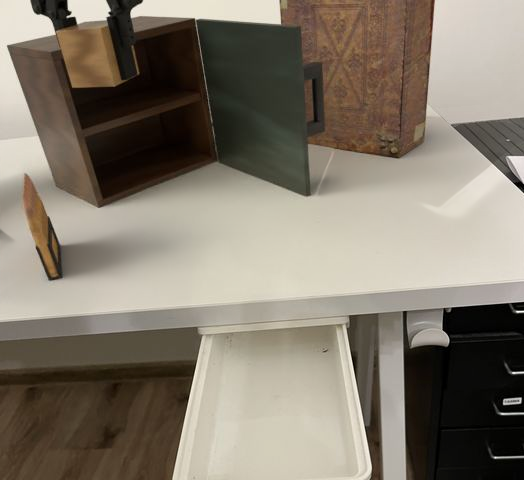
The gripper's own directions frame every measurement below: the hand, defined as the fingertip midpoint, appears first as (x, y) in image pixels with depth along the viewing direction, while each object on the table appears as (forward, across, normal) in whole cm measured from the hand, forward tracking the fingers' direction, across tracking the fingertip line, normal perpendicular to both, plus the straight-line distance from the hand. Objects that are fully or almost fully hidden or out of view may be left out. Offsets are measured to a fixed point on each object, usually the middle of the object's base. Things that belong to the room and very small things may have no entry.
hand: (105, 77), depth 67 cm
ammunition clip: (+23, +12, +6) cm, 27 cm away
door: (+23, -10, -29) cm, 39 cm away
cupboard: (+23, +18, -28) cm, 40 cm away
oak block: (0, 0, 0) cm, 0 cm away
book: (+23, -22, -46) cm, 56 cm away
